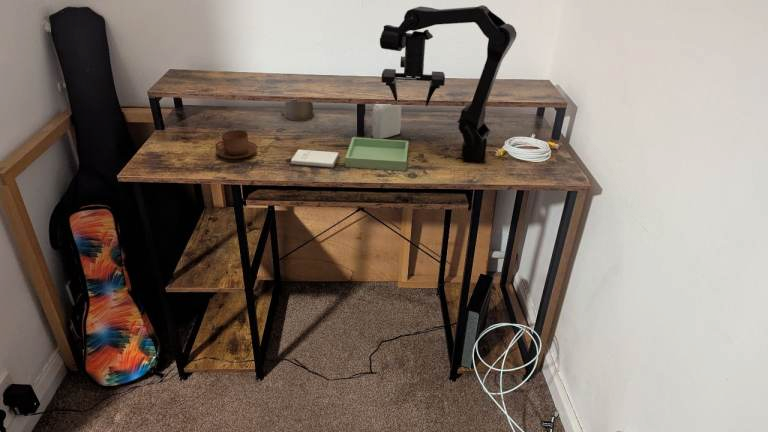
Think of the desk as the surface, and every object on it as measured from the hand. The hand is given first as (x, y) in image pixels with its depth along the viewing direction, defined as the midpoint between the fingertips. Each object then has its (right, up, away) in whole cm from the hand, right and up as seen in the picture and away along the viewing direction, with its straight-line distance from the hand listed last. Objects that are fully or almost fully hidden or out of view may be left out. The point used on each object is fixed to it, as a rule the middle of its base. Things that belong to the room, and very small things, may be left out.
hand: (411, 105), depth 158 cm
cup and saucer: (-53, -16, -4) cm, 55 cm away
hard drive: (-29, -18, -6) cm, 34 cm away
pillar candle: (-39, +1, +25) cm, 46 cm away
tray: (-10, -17, -3) cm, 20 cm away
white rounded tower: (-8, -8, +12) cm, 17 cm away
